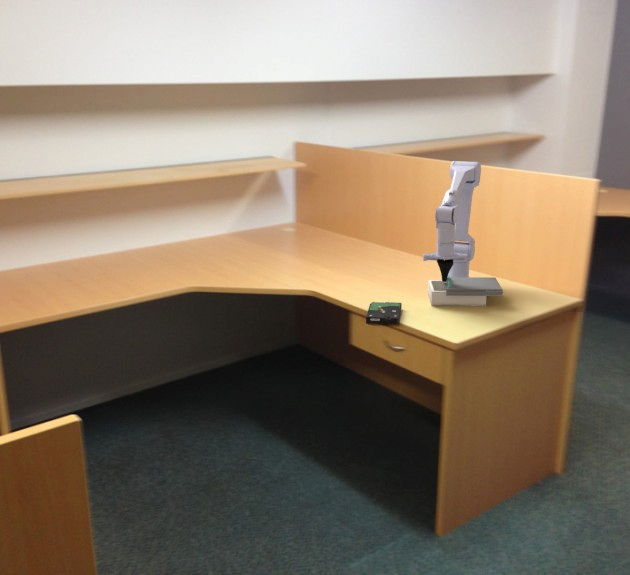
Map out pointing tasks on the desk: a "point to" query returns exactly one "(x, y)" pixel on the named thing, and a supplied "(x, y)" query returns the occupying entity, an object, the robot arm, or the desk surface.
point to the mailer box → (440, 299)
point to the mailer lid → (472, 286)
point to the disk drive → (383, 313)
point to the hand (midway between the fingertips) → (444, 280)
